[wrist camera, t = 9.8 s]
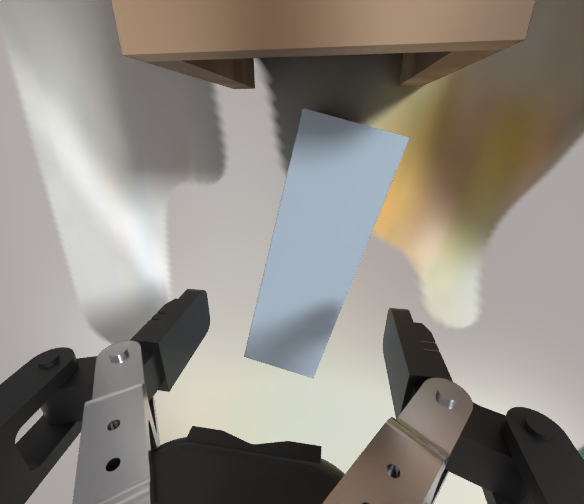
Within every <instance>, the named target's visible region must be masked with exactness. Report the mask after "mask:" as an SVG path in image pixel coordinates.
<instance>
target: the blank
mask: <svg viewBox="0 0 584 504" xmlns="http://www.w3.org/2000/svg"><path fill="white" fill-rule="evenodd" d="M409 138H410V137H406V136H402V135H399V134H395V133H392V132H388V131H384V130H381V129H377V128H373V127H370V126H366V125H363V124H359V123H355V122H352V121H348V120H344V119H341V118H337V117H334V116H330V115H326V114H323V113H319V112H316V111H312V110H308V109H305V108H303V110H302V114H301V118H300V122H299V127H298V131H297V135H296V139H295V144H294V148H293V152H292V156H291V160H290V165H289V169H288V173H287V177H286V182H285V186H284V190H283V194H282V199H281V203H280V207H279V211H278V216H277V219H276V224H275V228H274V232H273V236H272V241H271V245H270V249H269V253H268V258H267V262H266V266H265V270H264V275H263V279H262V283H261V287H260V291H259V295H258V300H257V304H256V308H255V312H254V317H253V321H252V325H251V329H250V333H249V338H248V342H247V347H246V350H245V355H244V357H247V358H250V359H253V360H257V361H260V362H263V363H266V364H269V365H272V366H275V367H279V368H282V369H285V370H288V371H291V372H295V373H298V374H301V375H304V376H307V377H310V378H314V375H315V373H316V370H317V368H318V365H319V363H320V360H321V358H322V355H323V353H324V350H325V348H326V345H327V343H328V340H329V338H330V335H331V333H332V330H333V328H334V325H335V323H336V320H337V317H338V315H339V313H340V310H341V308H342V305H343V303H344V300H345V298H346V295H347V293H348V290H349V288H350V285H351V283H352V280H353V278H354V275H355V273H356V270H357V268H358V265H359V263H360V260H361V258H362V255H363V253H364V250H365V248H366V245H367V243H368V240H369V238H370V235H371V233H372V230H373V228H374V225H375V223H376V220H377V218H378V215H379V213H380V210H381V208H382V205H383V203H384V200H385V198H386V195H387V193H388V190H389V188H390V185H391V183H392V180H393V178H394V175H395V173H396V170H397V168H398V165H399V163H400V160H401V158H402V155H403V153H404V150H405V148H406V145H407V143H408V140H409Z"/></svg>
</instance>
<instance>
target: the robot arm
mask: <svg viewBox="0 0 584 504" xmlns="http://www.w3.org/2000/svg"><path fill="white" fill-rule="evenodd" d="M209 325H210V315H209V307H208V299H207V293H206V291H205V290H195V289H187V290H186V291H185V292H184V293H183V294H182V296H180V298H179V299H174V300H172V301H170V302H169V303H167V304H165V305H164V306H163V307H162V308H161V309H160V310H159V311H158V313H157V314H155V315H154V316H153V317H152V319H151V320H149V321H148V322H147V323H146V324H145V325H144V326H143V327H142V328H141V330H140V331H139V332H138V333H137V334H136V335H135V336H134V337H133V338H132V339H131V340H130V341H121V342H117V343H115V344H112V345H110V346H108V347H107V348H105V349H104V350H103V351H102V352H101V353H100V354H99V355H98V356H95V357H87V358H79V359H76V357H75V354H74V352H73V350H72V349H70V348H55V349H51V350H48V351H46V352H43V353H41V354H39V355H37V356H36V357H34V358H33V359H32V360H30V361H29V362H28V363H27V364H25V365H24V366H23V367H21V368H20V369H19V370H18V371H17V372H15V373H14V374H13V375H12V376H10V377H9V378H8V379H7V380H5V381H4V382H3V383H2V384H1V385H0V504H25V502H26V501H27V500H28V498H29V497H30V496H31V495H32V493H33V492H34V491H35V489H36V488H37V487H38V486H39V484H40V483H41V482H42V480H43V479H44V478H45V477H46V475H47V474H48V473H49V472H50V470H51V469H52V468H53V466H54V465H55V464H56V463H57V461H58V460H59V459H60V457H61V456H62V455H63V453H64V452H65V451H66V450H67V449H68V447H69V446H70V445H71V443H72V442H73V441H74V440H75V438H76V437H77V436H78V434H79V433H80V432H81V437H80V446H79V454H78V462H77V470H76V479H75V487H74V496H73V504H434V502H435V499H436V497H437V495H438V493H439V491H440V489H441V487H442V485H443V483H444V481H445V479H446V477H447V475H448V473H449V472H451V473H453V474H456V475H458V476H460V477H462V478H464V479H466V480H468V481H470V482H472V483H474V484H477V485H479V486H481V487H482V489H483V492H484V495H485V498H486V500H487V504H584V460H583V459H582V457H581V456H580V454H579V453H578V451H577V450H576V448H575V447H574V445H573V444H572V442H571V441H570V439H569V438H568V436H567V435H566V433H565V432H564V431H563V430H562V429H561V428H560V427H559V426H558V425H557V424H556V423H555V422H554V421H552V420H551V419H549V418H548V417H546V416H545V415H543V414H541V413H539V412H537V411H534V410H531V409H529V408H524V407H515V408H512V409H510V410H509V411H508V412H507V415H506V416H505V415H502V414H500V413H497V412H494V411H492V410H489V409H486V408H484V407H481V406H479V405H477V404H475V403H473V402H472V400H471V398H470V396H469V395H468V393H467V392H466V391H465V390H464V389H463V388H461V387H460V386H459V385H457V384H456V383H454V382H453V381H452V379H451V377H450V374H449V372H448V370H447V367H446V365H445V363H444V360H443V358H442V356H441V354H440V352H439V349H438V347H437V345H436V344H435V340H434V338H433V335H432V333H431V332H430V331H429V330H428V329H427V328H426V327H425V326H424V325H423V324H422V323H414V322H413V319H412V317H411V314H410V312H409V310H406V309H395V308H390V309H389V310H388V315H387V320H386V326H385V332H384V338H383V353H384V358H385V363H386V369H387V373H388V379H389V384H390V389H391V395H392V400H393V405H394V410H395V415H396V419H394V418H393V417H391V418H390V419H388V421H387V422H386V423H385V424H384V425H383V427H382V428H381V429H380V431H379V432H378V433H377V434H376V436H375V437H374V438H373V439H372V441H371V442H370V443H369V445H368V446H367V447H366V448H365V450H364V451H363V452H362V453H361V455H360V456H359V457H358V459H357V460H356V461H355V462H354V464H353V465H352V466H351V468H350V469H349V470H348V471H347V473H346V474H344V473H343V472H342V471H341V470H339V469H338V468H337V467H336V466H334V465H333V464H331V463H329V462H328V461H326V460H324V459H321V446H316V445H309V444H303V443H296V442H290V441H285V442H275V443H266V444H255V445H254V444H250V443H247V442H245V441H243V440H241V439H239V438H237V437H235V436H233V435H231V434H228V433H226V432H224V431H221V430H215V429H209V428H202V427H195V426H192V428H191V430H190V432H189V434H188V436H187V437H185V438H180V439H176V440H172V441H170V442H167V443H165V444H163V445H160V440H159V432H158V425H157V417H156V409H155V401H154V397H153V396H154V394H155V393H156V392H157V390H161V391H168V392H169V391H170V390H171V388H172V386H173V385H174V383H175V382H176V380H177V379H178V377H179V375H180V374H181V372H182V371H183V369H184V368H185V366H186V365H187V363H188V362H189V360H190V358H191V357H192V355H193V354H194V352H195V350H196V349H197V347H198V346H199V344H200V343H201V341H202V340H203V338H204V337H205V335H206V333H207V332H208V329H209ZM40 407H41V410H42V411H43V414H44V415H43V416H42V417H41V418H40V419H39V420H38V421H37V422H36V424H34V425H33V426H32V428H31V429H30V430H29V431H28V432H27V433H26V434H25V435H24V436H23V437H22V438H21V439H20V440H19V441H18V442H17V443H16V444H15V438H16V435H17V433H18V431H19V429H20V428H21V427H22V426H23V424H25V423H26V422H27V420H28V419H29V418H30V417H31V416H32V415H33V414H34V413H35V412H36V411H37V410H38V409H39V408H40Z"/></svg>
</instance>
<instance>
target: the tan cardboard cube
mask: <svg viewBox="0 0 584 504" xmlns="http://www.w3.org/2000/svg"><path fill="white" fill-rule="evenodd" d="M535 1H536V0H111V2H112V7H113V12H114V17H115V22H116V27H117V32H118V37H119V42H120V47H121V51H122V55H124V56H127V57H130V58H134V59H137V60H140V61H144V62H147V63H150V64H154V65H157V66H160V67H164V68H167V69H170V70H173V71H177V72H180V73H183V74H187V75H190V76H193V77H197V78H200V79H203V80H206V81H210V82H213V83H216V84H220V85H223V86H226V87H230V88H233V89H250V88H255V81H254V60H253V58H270V57H299V56H329V55H358V54H387V53H403V61H402V68H401V76H400V84H399V86H413V85H426V84H428V83H430V82H432V81H435V80H437V79H439V78H441V77H443V76H446V75H448V74H450V73H452V72H454V71H457V70H459V69H461V68H463V67H465V66H468V65H470V64H472V63H474V62H476V61H479V60H481V59H483V58H485V57H487V56H490V55H492V54H494V53H496V52H498V51H501V50H503V49H505V48H507V47H509V46H512V45H514V44H516V43H518V42H520V41H523V40H525V38H526V34H527V30H528V27H529V23H530V19H531V15H532V12H533V8H534V4H535Z"/></svg>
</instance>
